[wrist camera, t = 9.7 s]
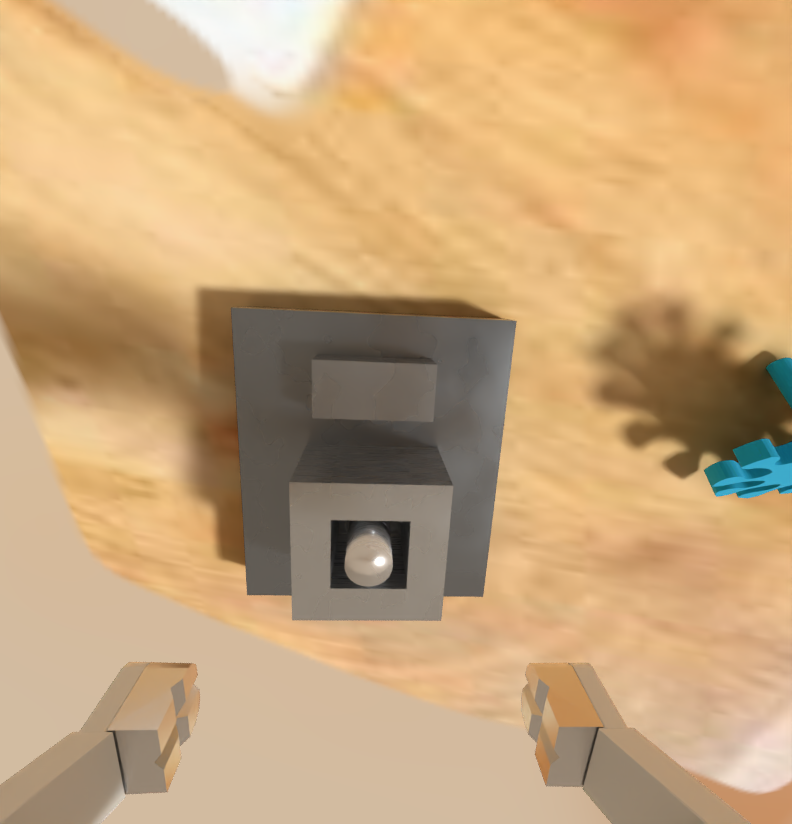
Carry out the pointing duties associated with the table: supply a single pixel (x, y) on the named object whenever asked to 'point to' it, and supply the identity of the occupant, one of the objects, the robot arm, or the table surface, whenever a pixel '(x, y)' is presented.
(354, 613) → the collar
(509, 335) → the shaft stand
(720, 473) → the gear
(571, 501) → the table surface
